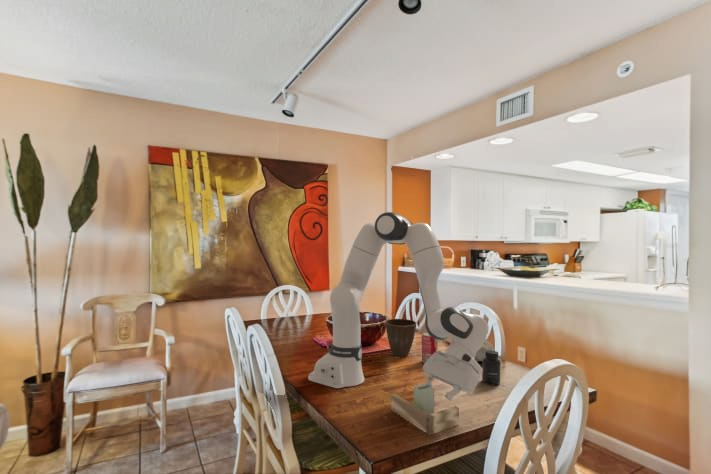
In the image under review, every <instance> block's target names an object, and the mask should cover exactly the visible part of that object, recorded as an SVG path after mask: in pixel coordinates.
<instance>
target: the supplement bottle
mask: <svg viewBox="0 0 711 474" xmlns="http://www.w3.org/2000/svg"><path fill="white" fill-rule="evenodd" d="M485 356H486V357H484V358H483V360H482V361H481V362H482V363H481V368H482V370H483V372H482V373H481V381H482V382H483V384H486V385H488V386H489V385H490V386H498V385H500V384H501V370H502V369H501V365H502V364H501V363H502V362H501V360H500V359H499V352H498V351H497V350H494V351H493V350H487V351H485Z"/></svg>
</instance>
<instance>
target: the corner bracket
mask: <svg viewBox="0 0 711 474" xmlns="http://www.w3.org/2000/svg"><path fill="white" fill-rule="evenodd" d="M390 396H391V397H390V398H391V406H390V408H391V409H390V410H392V411H391V412H393V413H395V414H396V413H397V414H396V415H398V416H399V415H400V416H399V417H400V418H402V417H403V419H404V421H405V420H406V421H407V422H408V421H409V422H408V423H410V424H411V423H412V424H411V425H413V426H415V427H416V428H417V429H419V430H421V431H422V430H423V431H422V432H424V433H425V432H426V434H427V435H428V434H429V435H428V436H432V435H435V434H437V433H441V432H442V430H443V431H445V430H448V429H451V428H453V426H454V427H456V426H458V425H459V426H460V407H458V406H456V405H453V406H451V407H449V408H445V409H443V410H439V411H436V412H434V413H433V414H428V413H427V412H425V411H423V410H421V409H420V408H418V407H416V406H415V405H414V403H411V402H409V401H408V400H406V399H404V398H403V397H401V396H399V395H397V394H396V393H394V394H391V395H390ZM434 433H435V434H434ZM431 434H432V435H431Z"/></svg>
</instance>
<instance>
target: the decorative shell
mask: <svg viewBox="0 0 711 474" xmlns="http://www.w3.org/2000/svg"><path fill="white" fill-rule="evenodd" d="M487 350H493V351H495V349H494V346H493V345H492V342H491V341H488V340H487V338H486V339H485V341H484V343H483V345H482V346H481V348H480V349H479V350H478V351H477V352H476V356H475V358H474V360H475V361H476V362H482V360H483V358H484V357H486V356H485V351H487Z"/></svg>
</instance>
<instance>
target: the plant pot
mask: <svg viewBox="0 0 711 474" xmlns="http://www.w3.org/2000/svg"><path fill="white" fill-rule="evenodd" d="M384 323H385V329H386V337H387V339H388V340H387V341H388V344H389V348H390V351H391V354H392V356H393V357H396V358H407V357H408V356H409V354H410V352H411V349H412V346H413V341H414V338H415V336H416V329H417V322H416V321H415V320H412V319H406V318H405V319H404V318H392V319H387V320H385V322H384Z"/></svg>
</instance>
